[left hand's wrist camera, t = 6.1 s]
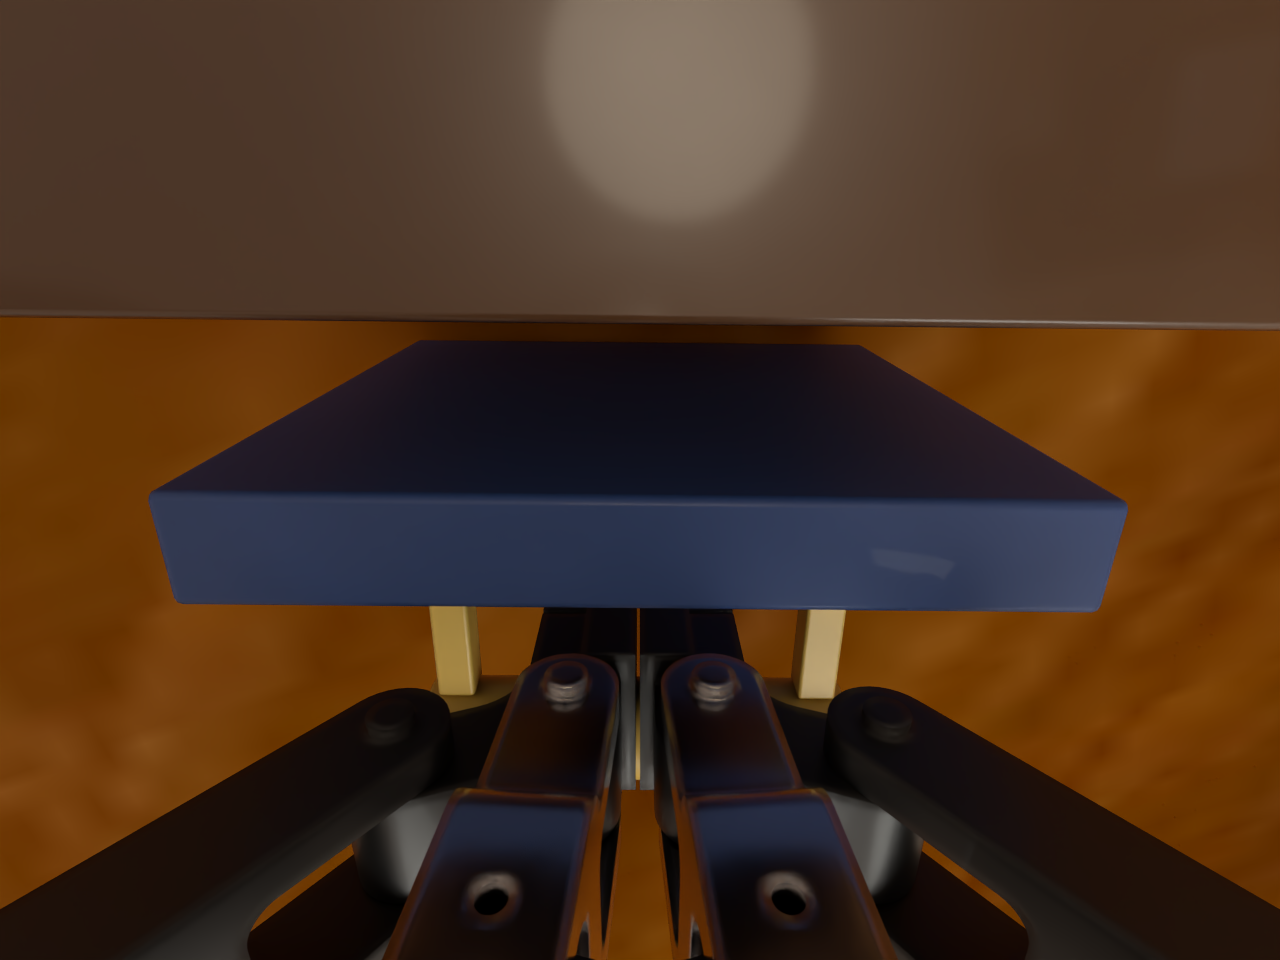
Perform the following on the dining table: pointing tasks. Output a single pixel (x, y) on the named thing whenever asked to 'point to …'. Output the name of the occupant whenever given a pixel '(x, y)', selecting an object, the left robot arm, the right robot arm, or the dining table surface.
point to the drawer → (637, 498)
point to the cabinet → (644, 162)
